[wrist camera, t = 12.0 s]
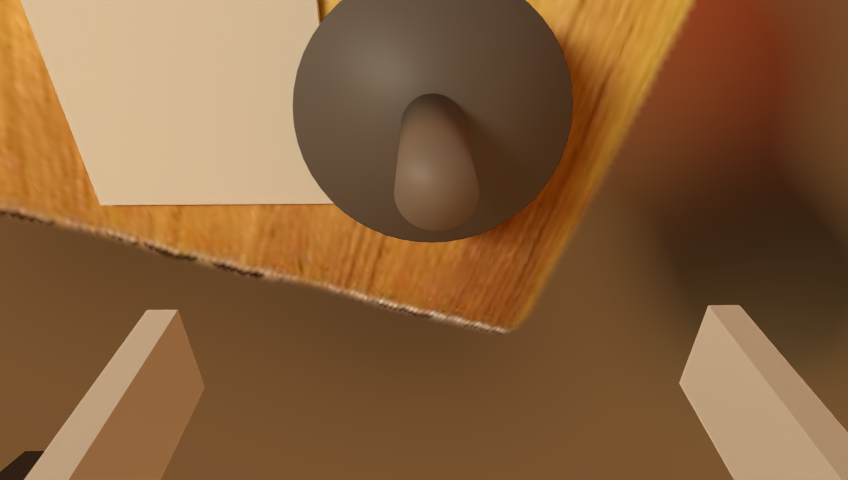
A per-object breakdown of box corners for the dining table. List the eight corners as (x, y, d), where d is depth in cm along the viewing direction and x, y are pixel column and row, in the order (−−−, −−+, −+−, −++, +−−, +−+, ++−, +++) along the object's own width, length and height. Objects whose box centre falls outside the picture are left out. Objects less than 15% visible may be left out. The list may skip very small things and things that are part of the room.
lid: (276, -34, 26) (202, -17, 17) (588, -36, 26) (674, -21, 17) (314, 234, 34) (277, 337, 25) (549, 232, 34) (593, 334, 25)
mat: (-2, -77, 29) (-10, -77, 28) (309, -79, 29) (307, -79, 28) (104, 201, 38) (100, 205, 38) (339, 199, 38) (338, 203, 38)
